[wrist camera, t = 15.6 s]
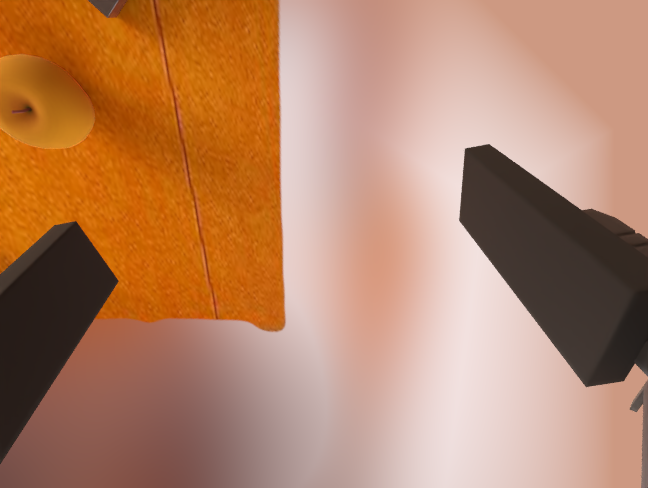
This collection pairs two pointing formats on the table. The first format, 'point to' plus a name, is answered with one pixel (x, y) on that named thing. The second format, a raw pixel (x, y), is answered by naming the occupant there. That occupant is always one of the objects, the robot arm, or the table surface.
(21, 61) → the apple
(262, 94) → the table surface
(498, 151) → the robot arm
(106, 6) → the tap base
